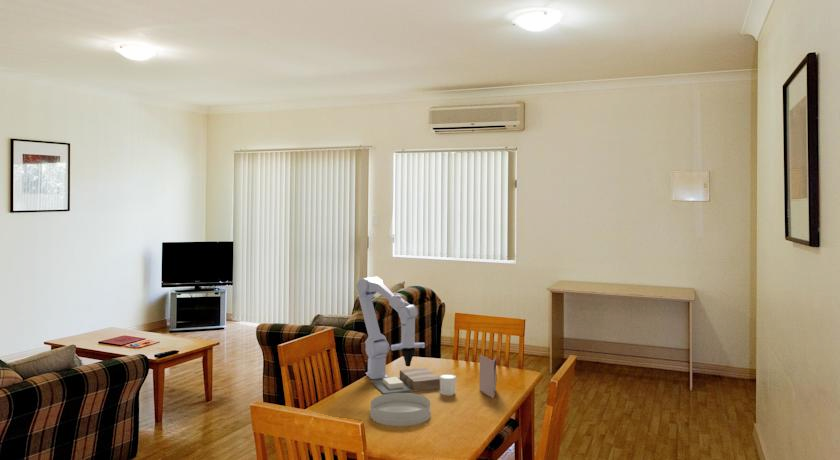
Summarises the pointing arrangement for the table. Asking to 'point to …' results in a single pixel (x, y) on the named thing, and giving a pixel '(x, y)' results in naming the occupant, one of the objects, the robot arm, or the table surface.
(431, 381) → the platform
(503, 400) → the table surface
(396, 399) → the dish
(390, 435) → the table surface
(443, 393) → the white cup
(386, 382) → the tile
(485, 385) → the greeting card
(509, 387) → the table surface
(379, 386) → the mat
